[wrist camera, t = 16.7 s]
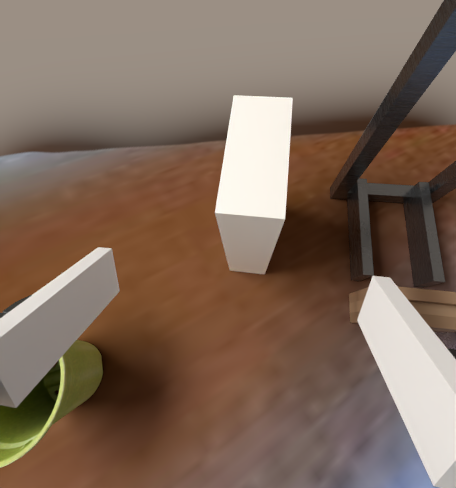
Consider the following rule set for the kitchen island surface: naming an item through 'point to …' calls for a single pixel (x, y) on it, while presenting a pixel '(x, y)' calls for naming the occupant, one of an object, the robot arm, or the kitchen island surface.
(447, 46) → the frame
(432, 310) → the offcut stack
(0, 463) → the plant pot
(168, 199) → the kitchen island surface
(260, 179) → the white block
